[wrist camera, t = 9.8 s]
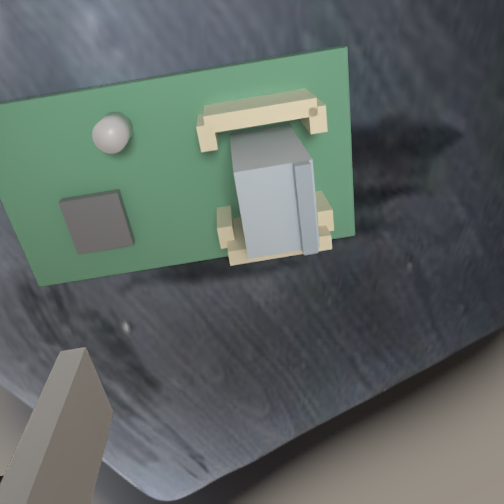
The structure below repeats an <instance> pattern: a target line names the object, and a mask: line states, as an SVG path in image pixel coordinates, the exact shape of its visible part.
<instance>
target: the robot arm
mask: <svg viewBox="0 0 504 504" xmlns="http://www.w3.org/2000/svg"><path fill="white" fill-rule="evenodd" d="M113 413H114V412H113V410H112V408H111V405H110V403H109V400H108V398H107V396H106V393H105V391H104V389H103V386H102V384H101V382H100V379H99V377H98V375H97V372H96V370H95V368H94V365H93V363H92V360H91V358H90V356H89V353H88V351H87V349H86V347H83V348H77V349H71V350H65V351H60V353H59V355H58V357H57V359H56V361H55V364H54V366H53V368H52V370H51V372H50V375H49V377H48V379H47V381H46V384H45V386H44V388H43V390H42V392H41V395H40V397H39V399H38V401H37V403H36V406H35V408H34V410H33V413H32V415H31V417H30V419H29V421H28V424H27V426H26V428H25V430H24V432H23V434H22V437H21V439H20V441H19V443H18V446H17V448H16V450H15V452H14V454H13V457H12V459H11V461H10V463H9V465H8V468H7V470H6V472H5V475H4V476H0V504H91V500H92V496H93V492H94V488H95V484H96V480H97V476H98V472H99V468H100V464H101V461H102V457H103V453H104V449H105V445H106V441H107V437H108V433H109V429H110V425H111V421H112V417H113Z"/></svg>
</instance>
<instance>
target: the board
mask: <svg viewBox="0 0 504 504" xmlns="http://www.w3.org/2000/svg"><path fill="white" fill-rule="evenodd" d="M288 124H290V126H291V127H292V129H293V130H294V132H295V133H296V135H297V136H298V138H299V139H300V141H301V143H302V144H303V146H304V147H305V149H306V150H307V152H308V153H309V155H310V156H311V158H312V159H313V170H314V182H315V194H316V206H317V218H318V230H319V242H320V247H318V251H324V250H330V249H332V239H336V238H342V237H349V236H355V222H354V197H353V173H352V149H351V125H350V101H349V76H348V52H347V47H345V46H342V45H341V46H335V47H329V48H323V49H316V50H310V51H304V52H298V53H292V54H286V55H280V56H274V57H268V58H262V59H256V60H250V61H244V62H238V63H232V64H226V65H220V66H214V67H208V68H202V69H196V70H190V71H184V72H178V73H172V74H166V75H160V76H154V77H148V78H142V79H136V80H130V81H124V82H118V83H112V84H106V85H100V86H94V87H88V88H82V89H76V90H70V91H64V92H58V93H52V94H46V95H40V96H33V97H27V98H21V99H15V100H9V101H3V102H0V199H1V202H2V204H3V206H4V208H5V211H6V213H7V215H8V217H9V220H10V222H11V224H12V227H13V229H14V231H15V233H16V236H17V238H18V240H19V242H20V245H21V247H22V249H23V251H24V254H25V256H26V258H27V260H28V263H29V265H30V267H31V269H32V272H33V274H34V276H35V278H36V281H37V283H38V285H39V287H42V286H48V285H54V284H60V283H66V282H73V281H79V280H85V279H91V278H97V277H103V276H109V275H116V274H122V273H128V272H134V271H140V270H146V269H152V268H158V267H165V266H171V265H177V264H183V263H189V262H195V261H201V260H208V259H214V258H220V257H226V256H229V261H230V266H232V265H238V264H244V263H250V262H256V261H262V260H268V259H275V258H281V257H287V256H293V255H299V254H303V251H302V250H300V251H294V252H288V253H282V254H275V255H269V256H263V257H257V258H251V259H248V254H247V248H246V243H245V237H244V231H243V225H242V219H241V214H240V208H239V202H238V196H237V191H236V185H235V179H234V173H233V164H232V155H231V146H230V137H229V134H233V133H239V132H245V131H251V130H257V129H263V128H269V127H276V126H282V125H288Z"/></svg>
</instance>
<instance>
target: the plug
mask: <svg viewBox="0 0 504 504" xmlns="http://www.w3.org/2000/svg"><path fill="white" fill-rule="evenodd" d="M229 137H230V146H231V155H232V164H233V173H234V179H235V185H236V191H237V196H238V202H239V208H240V214H241V219H242V225H243V231H244V237H245V243H246V248H247V254H248V259H251V258H257V257H263V256H269V255H275V254H282V253H288V252H294V251H300V250H302V251H303V254H304V255H309V254H315V253H319V252H318V247H320V242H319V230H318V218H317V206H316V194H315V182H314V170H313V159H312V158H311V156H310V155H309V153H308V152H307V150H306V149H305V147H304V146H303V144H302V143H301V141H300V139H299V138H298V136H297V135H296V133H295V132H294V130H293V129H292V127H291V126H290V124H288V125H282V126H276V127H269V128H263V129H257V130H251V131H245V132H239V133H233V134H229Z"/></svg>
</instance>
